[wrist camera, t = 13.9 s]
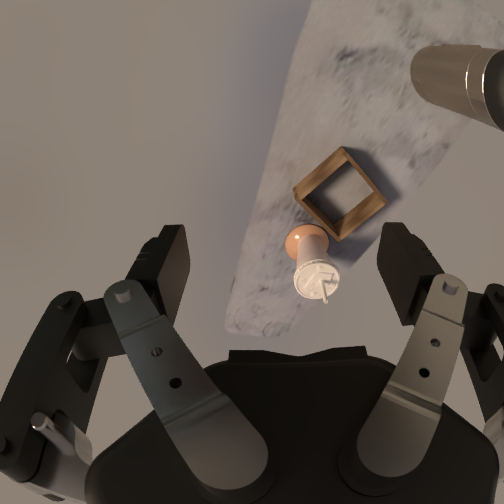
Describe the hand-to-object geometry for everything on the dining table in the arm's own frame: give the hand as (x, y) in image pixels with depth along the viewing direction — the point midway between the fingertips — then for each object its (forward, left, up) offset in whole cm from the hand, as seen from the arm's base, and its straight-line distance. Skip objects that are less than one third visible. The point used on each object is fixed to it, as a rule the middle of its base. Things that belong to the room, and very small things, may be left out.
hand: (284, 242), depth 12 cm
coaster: (+10, +19, -33) cm, 39 cm away
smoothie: (+10, +19, -32) cm, 39 cm away
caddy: (+1, +15, -33) cm, 36 cm away
